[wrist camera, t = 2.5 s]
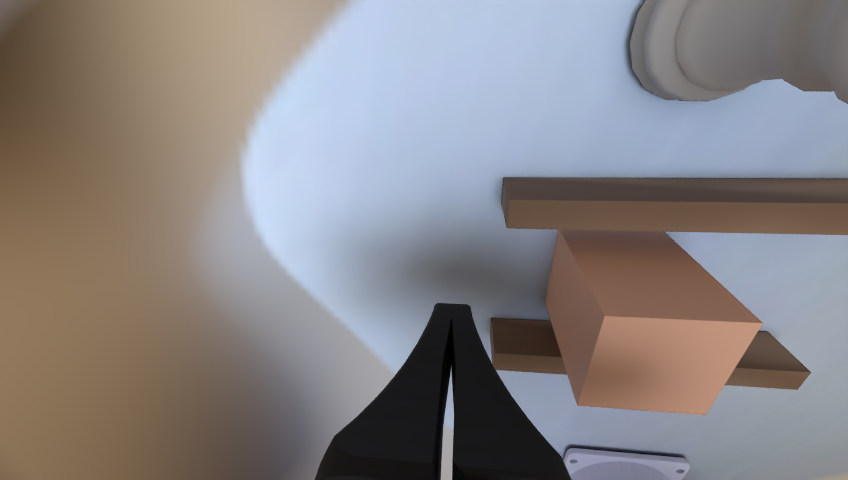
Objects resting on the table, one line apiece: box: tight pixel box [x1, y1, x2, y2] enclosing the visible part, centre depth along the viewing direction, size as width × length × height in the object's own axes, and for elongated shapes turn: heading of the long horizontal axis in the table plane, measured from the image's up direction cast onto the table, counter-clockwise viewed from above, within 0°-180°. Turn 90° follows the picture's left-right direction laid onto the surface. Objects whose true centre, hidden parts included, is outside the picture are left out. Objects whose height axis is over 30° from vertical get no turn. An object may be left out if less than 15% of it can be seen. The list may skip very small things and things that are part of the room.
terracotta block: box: [545, 229, 763, 415], centre depth 14 cm, size 4×4×6 cm
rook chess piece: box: [630, 0, 848, 104], centre depth 8 cm, size 4×4×8 cm
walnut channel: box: [490, 178, 848, 390], centre depth 15 cm, size 9×14×2 cm
